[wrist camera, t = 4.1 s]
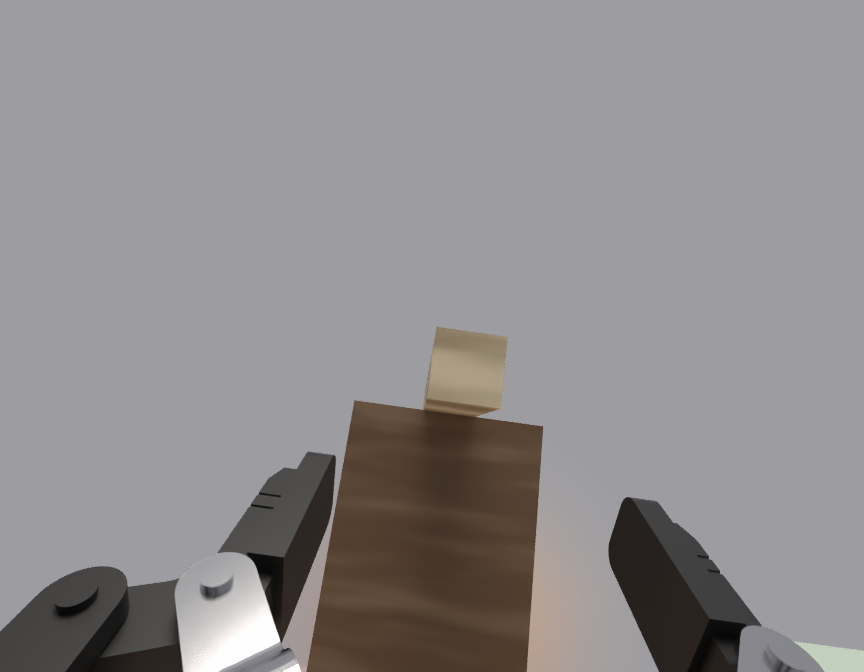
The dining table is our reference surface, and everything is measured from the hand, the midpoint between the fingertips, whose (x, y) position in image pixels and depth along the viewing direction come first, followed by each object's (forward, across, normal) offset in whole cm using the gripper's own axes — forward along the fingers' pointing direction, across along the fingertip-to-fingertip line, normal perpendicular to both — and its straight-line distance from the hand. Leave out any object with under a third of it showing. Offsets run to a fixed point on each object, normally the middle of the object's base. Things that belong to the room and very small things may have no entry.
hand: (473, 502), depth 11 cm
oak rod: (+16, 0, +6) cm, 17 cm away
